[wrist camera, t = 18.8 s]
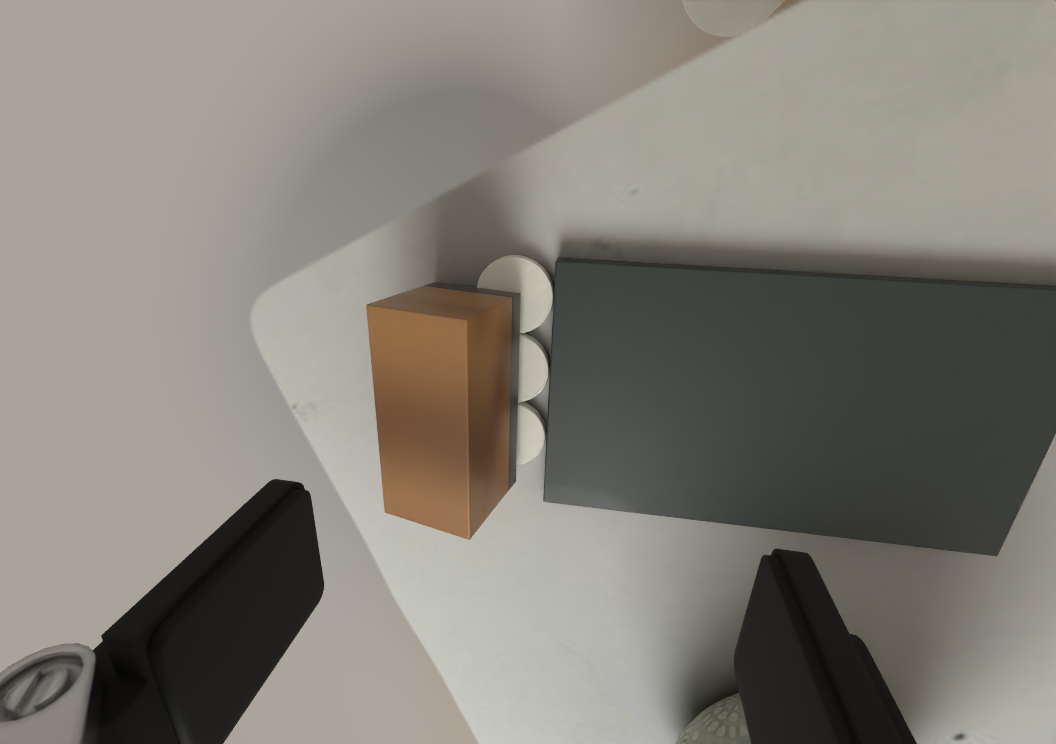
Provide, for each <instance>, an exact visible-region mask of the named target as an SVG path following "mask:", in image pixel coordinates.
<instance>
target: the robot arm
mask: <svg viewBox="0 0 1056 744" xmlns="http://www.w3.org/2000/svg"><path fill="white" fill-rule="evenodd" d="M323 590H324V580H323V573H322V567H321V560H320V554H319V547H318V540H317V534H316V527H315V521H314V514H313V508H312V501H311V495H310V493H309V491H307V490H305V489H304V486H303V485H302V483H299V482H293V481H286V480H278V479H274V480H271V481H270V482H268V483H267V484H266V485H265V486H264V487H263V488H262V489H261V490H260V491H258V492H257V493H256V494H255V495H254V496H253V497H252V498H251V499H250V500H249V501H248V502H247V503H245V504H244V505H243V506H242V507H241V508H240V509H239V510H238V511H237V512H236V513H234V514H233V515H232V516H231V517H230V518H229V519H228V520H227V521H226V522H225V523H224V524H222V525H221V526H220V527H219V528H218V529H217V530H216V531H215V532H214V533H213V534H212V535H211V536H209V537H208V538H207V539H206V540H205V541H204V542H203V543H202V544H201V545H200V546H198V547H197V548H196V549H195V550H194V551H193V552H192V553H191V554H190V555H189V556H188V557H186V558H185V559H184V560H183V561H182V562H181V563H180V564H179V565H178V566H177V567H176V568H175V569H173V570H172V571H171V572H170V573H169V574H168V575H167V576H166V577H165V578H164V579H162V580H161V581H160V582H159V583H158V584H157V585H156V586H155V587H154V588H153V589H152V590H150V591H149V592H148V593H147V594H146V595H145V596H144V597H143V598H142V599H141V600H140V601H138V602H137V603H136V604H135V605H134V606H133V607H132V608H131V609H130V610H129V611H128V612H126V613H125V614H124V615H123V616H122V617H121V618H120V619H119V620H118V621H117V622H116V623H115V624H114V625H112V626H111V627H110V628H109V629H108V630H107V631H106V632H105V633H104V634H103V635H102V639H103V642H101V643H100V644H99V645H98V646H97V647H96V648H95V649H94V650H93V651H92V650H91V649H90V648H89V647H88V646H85V645H82V644H78V643H77V644H76V643H75V644H61V645H57V646H53V647H49V648H45V649H43V650H40V651H38V652H35V653H33V654H31V655H28V656H26V657H24V658H23V659H21V660H19V661H18V662H16V663H14V664H12V665H11V666H9V667H8V668H6V669H5V670H4V671H2V672H1V673H0V744H223V743H224V741H225V740H226V739H227V737H228V736H229V734H230V732H231V731H232V730H233V728H234V727H235V725H236V724H237V722H238V721H239V719H240V717H241V716H242V715H243V713H244V712H245V711H246V709H247V708H248V706H249V705H250V703H251V701H252V700H253V699H254V697H255V696H256V694H257V693H258V691H259V690H260V688H261V687H262V685H263V684H264V683H265V681H266V680H267V678H268V676H269V675H270V674H271V672H272V671H273V669H274V668H275V666H276V665H277V663H278V662H279V660H280V659H281V657H282V656H283V655H284V653H285V652H286V650H287V649H288V647H289V646H290V644H291V643H292V641H293V640H294V638H295V637H296V635H297V634H298V632H299V631H300V629H301V628H302V626H303V625H304V623H305V622H306V621H307V619H308V618H309V616H310V615H311V613H312V612H313V610H314V609H315V607H316V606H317V604H318V603H319V601H320V599H321V597H322V594H323ZM734 671H735V676H736V681H737V685H738V689H739V693H740V698H741V702H742V706H743V711H744V715H745V719H746V724H747V728H748V732H749V737H750V741H751V744H917V743H916V741H915V739H914V737H913V736H912V734H911V732H910V730H909V728H908V726H907V724H906V722H905V720H904V718H903V716H902V714H901V712H900V710H899V708H898V706H897V705H896V703H895V701H894V699H893V697H892V695H891V693H890V691H889V689H888V687H887V685H886V683H885V681H884V679H883V677H882V676H881V674H880V672H879V670H878V668H877V666H876V664H875V662H874V660H873V658H872V656H871V654H870V652H869V650H868V649H867V647H866V645H865V644H864V642H863V641H862V640H861V639H860V638H859V637H858V636H856V635H852V634H849V632H848V630H847V628H846V626H845V624H844V622H843V620H842V618H841V616H840V614H839V612H838V610H837V608H836V606H835V604H834V602H833V600H832V598H831V596H830V594H829V592H828V590H827V588H826V586H825V584H824V582H823V580H822V578H821V576H820V574H819V572H818V569H817V567H816V565H815V563H814V561H813V559H812V558H811V556H810V555H809V554H808V553H804V552H797V551H790V550H783V549H774V550H773V551H772V554H771V556H769V555H763V556H762V558H761V561H760V564H759V568H758V571H757V575H756V578H755V582H754V586H753V589H752V593H751V596H750V600H749V603H748V607H747V610H746V614H745V617H744V621H743V624H742V628H741V631H740V635H739V638H738V642H737V646H736V649H735V653H734Z"/></svg>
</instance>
